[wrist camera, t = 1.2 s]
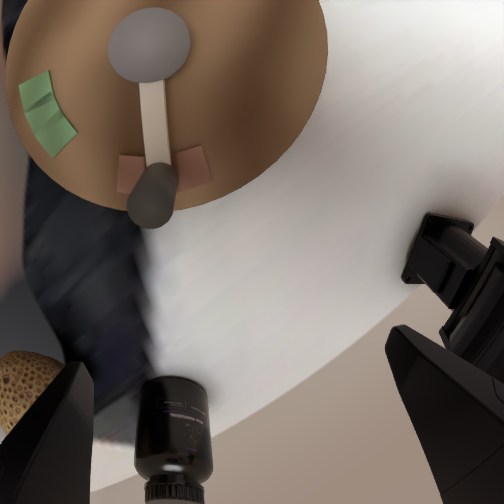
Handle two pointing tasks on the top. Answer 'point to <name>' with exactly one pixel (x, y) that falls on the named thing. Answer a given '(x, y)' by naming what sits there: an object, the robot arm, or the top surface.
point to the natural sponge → (23, 383)
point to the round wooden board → (176, 89)
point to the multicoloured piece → (151, 102)
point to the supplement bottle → (173, 441)
